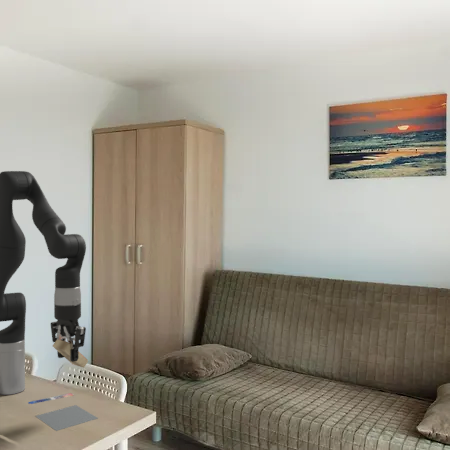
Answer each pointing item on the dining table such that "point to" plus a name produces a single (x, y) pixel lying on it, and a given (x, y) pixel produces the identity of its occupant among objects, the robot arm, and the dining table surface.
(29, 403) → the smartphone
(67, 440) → the dining table surface
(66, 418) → the mat
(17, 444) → the dining table surface
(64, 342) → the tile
